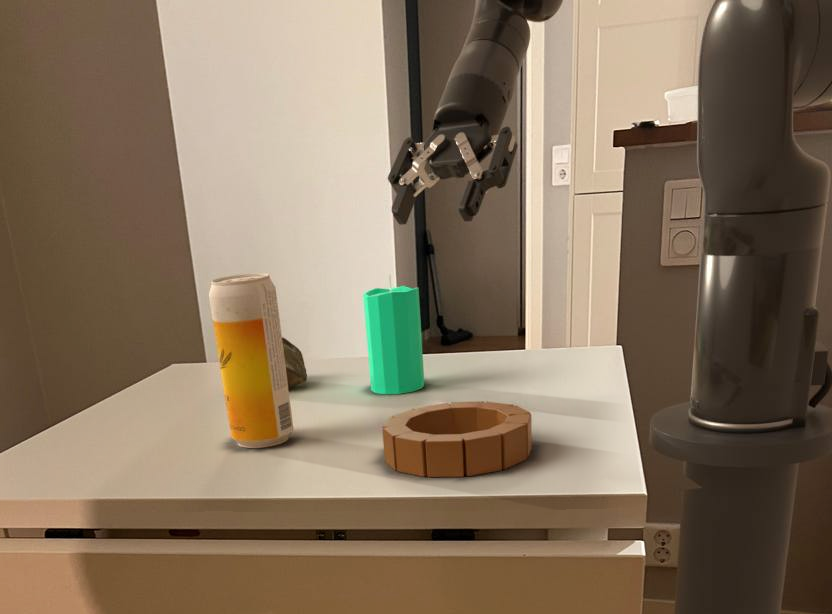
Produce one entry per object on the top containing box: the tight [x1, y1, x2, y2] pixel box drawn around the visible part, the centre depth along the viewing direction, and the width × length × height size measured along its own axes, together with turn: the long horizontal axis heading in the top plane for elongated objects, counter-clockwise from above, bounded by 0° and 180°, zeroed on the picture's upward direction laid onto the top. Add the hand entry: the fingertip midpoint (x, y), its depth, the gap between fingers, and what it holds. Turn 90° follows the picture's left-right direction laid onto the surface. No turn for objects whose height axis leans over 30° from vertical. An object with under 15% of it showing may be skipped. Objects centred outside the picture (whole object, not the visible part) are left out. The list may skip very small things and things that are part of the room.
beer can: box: [208, 272, 294, 449], centre depth 89 cm, size 6×6×15 cm
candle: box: [362, 274, 425, 395], centre depth 105 cm, size 6×6×12 cm
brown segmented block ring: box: [381, 400, 533, 478], centre depth 82 cm, size 12×12×3 cm
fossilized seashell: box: [282, 336, 308, 389], centre depth 113 cm, size 8×7×10 cm
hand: (430, 218), depth 106 cm, fingers open, 8 cm apart
